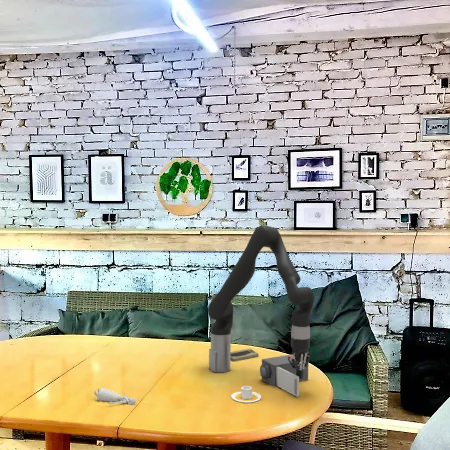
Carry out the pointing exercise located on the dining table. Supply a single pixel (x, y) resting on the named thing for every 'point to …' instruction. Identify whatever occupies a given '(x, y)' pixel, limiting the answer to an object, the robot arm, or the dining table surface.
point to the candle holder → (246, 394)
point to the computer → (243, 354)
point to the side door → (287, 381)
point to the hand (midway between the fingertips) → (299, 378)
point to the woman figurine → (113, 397)
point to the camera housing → (281, 361)
